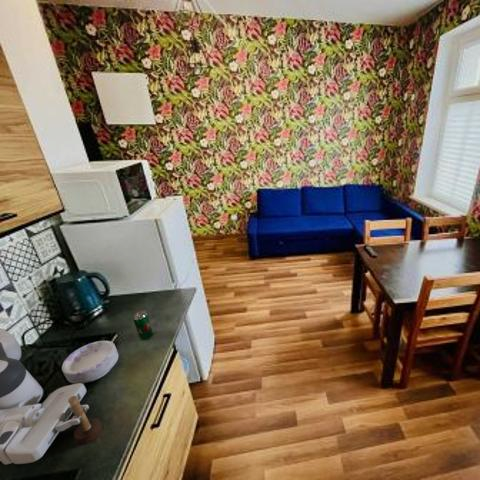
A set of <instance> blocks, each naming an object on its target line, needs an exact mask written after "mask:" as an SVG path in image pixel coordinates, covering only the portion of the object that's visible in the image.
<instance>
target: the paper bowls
mask: <svg viewBox="0 0 480 480" xmlns="http://www.w3.org/2000/svg"><path fill="white" fill-rule="evenodd" d="M118 361H119V353H118V349H117V347H116V345H115V343H114V342H113V341H110V340H98V341H94V342H89V343H88V344H85V345H83V346H81V347H79V348H78V349H76V350H74V351H73V352H71V353H70V354H69V355H68V356H67V357H66V358H65V359H64V361H63V363H62V365H61V371H62V373H63V375H64V377H65V378H66V380H67V381H68V383H71V384H78V383H82V384H83V383H84V384H85V383H91V382H94V381H96V380H99V379H101V378H102V377H104V376H105V375H107V374H108V373H109V372H110V371H111V369H112V368H113V367H114V366H115V365H116V364H117V362H118Z"/></svg>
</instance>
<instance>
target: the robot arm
mask: <svg viewBox="0 0 480 480" xmlns="http://www.w3.org/2000/svg"><path fill="white" fill-rule="evenodd" d="M21 358H22V348H21V345H20V343H19V342H18V339H16V338H15V336H14V335H13V334H11V333H10V332H9V331H8V330H6V329H3V328H0V462H1V463H2V464H3V465H9V464H14V465H23V464H30V463H34V462H36V461H38V460H40V459H41V458H42V457H43V456H44V455H45V454H46V452H47V450H48V449H49V447H50V446H51V445H52V444H53V442H54V440H55V439H56V437H57V436H58V435H59V434H60V432H63V431H66V430H67V429H69V428H71V427H72V426H77V425H80V421H81V420H82V418H81V415H78V416H75V415H73V416H72V417H71V415H72V414H73V413H74V412H73V410H72V408H71V406H70V404H69V402H68V399H69V398H71V397H72V396H76V397H77V399H78V401H79V403H80V402H81V401H82V399H83V398H84V396H85V395H86V393H87V388H86V386H85V385H84V384H83V383H77V384H76V383H72V384H69V385H64V386H62V387H59V388H56V389H55V390H54V391H53V392H51V393H49V394H48V395H47V398H45V400H44V401H43V402H42V403H40V401H41V400H42V398H43V396H44V389H43V387H42V386H41V385H40V383H39V382H38V381H37V380H36V379H35V377H33V375H31V373H30V372H29V371H28V370H27V369H26V366H25V365H24V364H23V363H22V362H21ZM80 405H81V407H82V409H83V411H84V413H85V414H87V412H88V410H90V406H89V404H80ZM70 417H71V418H70Z"/></svg>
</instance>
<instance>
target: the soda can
mask: <svg viewBox="0 0 480 480" xmlns="http://www.w3.org/2000/svg"><path fill="white" fill-rule="evenodd" d="M132 317H133V318H132V320H133V322H134V325H135V329H136V331H137V332H136V333H137V335H138V338H139V339H140V340H142V341H146V340H149V339H150V338H152V337H153V335H154V331H153V328H152V324H151V322H150V318H149V315H148V312H146V311H145V310H140V311H137V312H135V313H134V314H133V316H132Z"/></svg>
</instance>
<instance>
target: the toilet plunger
mask: <svg viewBox="0 0 480 480" xmlns="http://www.w3.org/2000/svg"><path fill="white" fill-rule="evenodd" d="M68 402H69V404H70V406H71V408H72V410H73V412H72V413H73V414H74V416H78V415H81V418H82V420H81V421H80V423H79V426H77V428H76V429H75V430H74V432H73V437H74V439H75V441H76V443H77V445H81V446H82V445H87V444H89V443H91V442H93V441H94V440H96V439H97V438H98V437H99V436H100V434H101V433H102V431H103V429H104V427H103V424H102V422H101V420H100V419H99V418H98V417H92V418H89V419H88V417H87V415H86V413H84V411H83V409H82V407H81V405H82V404H81V403H80V402H79V401H78V399H77V397H76V396H72V397H71V398H69V399H68Z"/></svg>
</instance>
